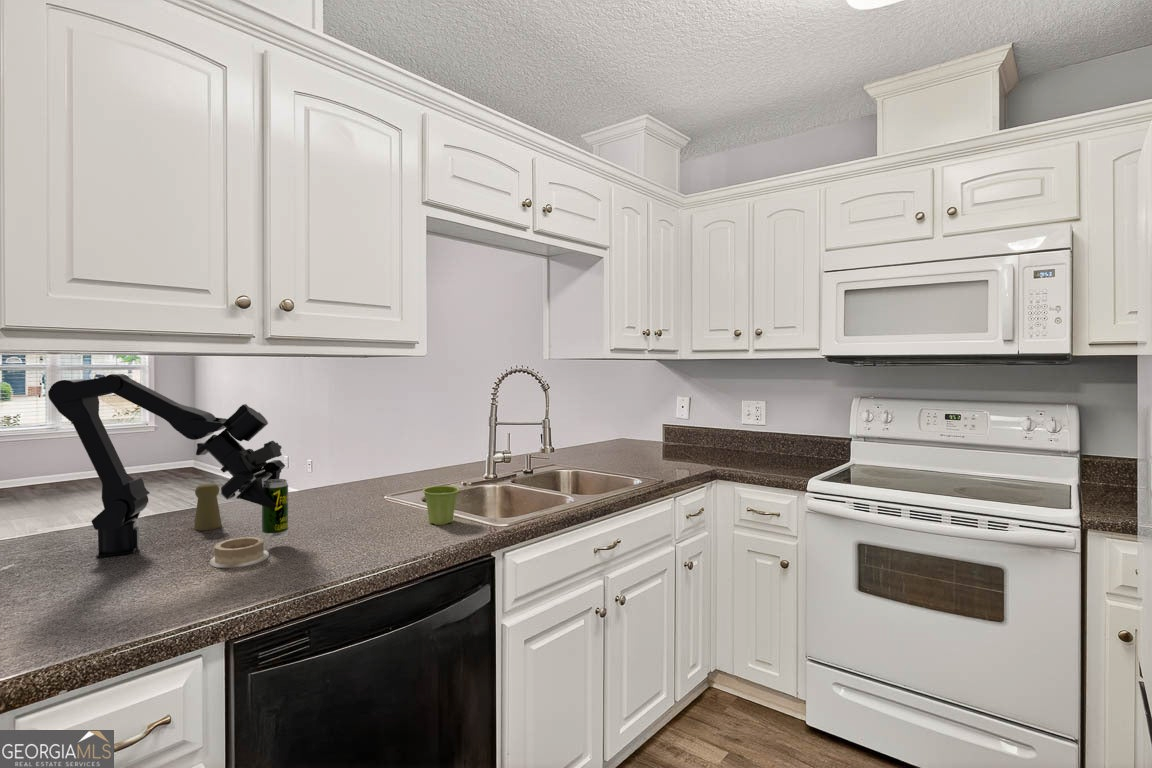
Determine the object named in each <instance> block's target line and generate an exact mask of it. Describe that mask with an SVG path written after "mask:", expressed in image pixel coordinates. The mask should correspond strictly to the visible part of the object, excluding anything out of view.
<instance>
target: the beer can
mask: <svg viewBox="0 0 1152 768" xmlns="http://www.w3.org/2000/svg"><path fill="white" fill-rule="evenodd" d="M262 487H263V488H264V489H265V490H266V492H267V493H268V494H269V495H270V497H271V498H272V499H273V500H274V502H275V503H276V505H277V507H276V508H275V509H271V508H268V507H265V506H262V505H261V532H262V534H263V536H266V537H278V536H282V535H285V534H287V532H288V530H289V500H288V499H289V483H288V480H287V479H285V478H279V479H271V480H266V481H263V485H262Z"/></svg>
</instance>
